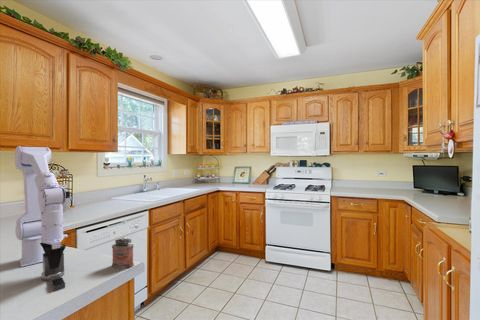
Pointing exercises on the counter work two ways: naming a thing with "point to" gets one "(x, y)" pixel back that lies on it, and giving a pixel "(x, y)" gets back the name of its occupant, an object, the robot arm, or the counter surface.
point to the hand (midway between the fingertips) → (53, 265)
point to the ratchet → (55, 280)
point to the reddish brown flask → (122, 253)
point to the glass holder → (67, 203)
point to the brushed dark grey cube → (46, 267)
